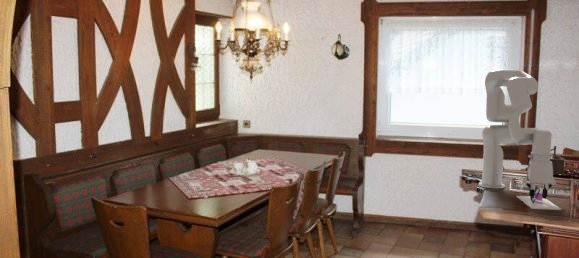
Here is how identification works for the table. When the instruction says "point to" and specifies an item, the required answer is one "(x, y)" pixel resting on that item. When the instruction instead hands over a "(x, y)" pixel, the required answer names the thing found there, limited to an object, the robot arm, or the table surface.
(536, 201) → the mat
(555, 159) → the pepper mill
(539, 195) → the purple block
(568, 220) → the table surface
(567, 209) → the table surface
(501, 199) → the table surface
